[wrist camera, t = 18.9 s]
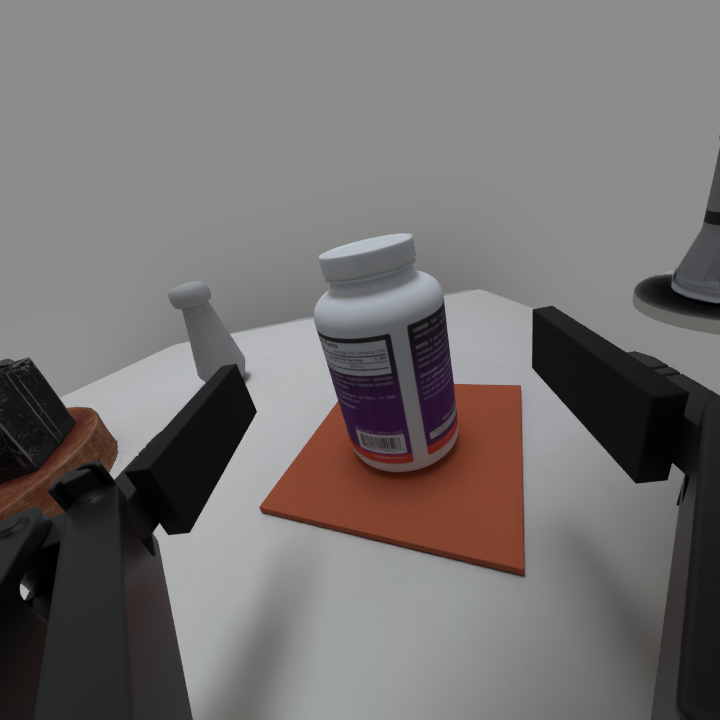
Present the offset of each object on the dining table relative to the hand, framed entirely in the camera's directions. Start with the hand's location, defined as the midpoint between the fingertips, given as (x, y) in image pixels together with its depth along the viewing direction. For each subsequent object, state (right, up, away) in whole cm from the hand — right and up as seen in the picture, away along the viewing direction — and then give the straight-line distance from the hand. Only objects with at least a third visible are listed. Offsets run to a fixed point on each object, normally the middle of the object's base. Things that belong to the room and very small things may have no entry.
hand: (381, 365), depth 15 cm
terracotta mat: (+3, -6, +11) cm, 13 cm away
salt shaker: (-18, -3, +28) cm, 34 cm away
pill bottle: (+2, -6, +10) cm, 12 cm away
